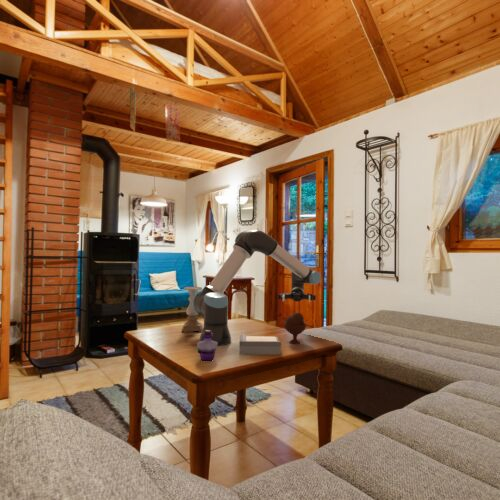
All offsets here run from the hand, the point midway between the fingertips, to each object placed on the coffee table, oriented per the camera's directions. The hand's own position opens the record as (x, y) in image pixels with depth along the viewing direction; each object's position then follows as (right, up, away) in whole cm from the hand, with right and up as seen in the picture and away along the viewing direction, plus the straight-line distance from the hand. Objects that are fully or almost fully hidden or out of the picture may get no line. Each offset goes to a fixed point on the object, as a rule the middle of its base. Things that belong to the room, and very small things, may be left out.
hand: (296, 299), depth 180 cm
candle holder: (-56, -20, +15) cm, 62 cm away
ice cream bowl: (-2, -20, -10) cm, 23 cm away
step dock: (-20, -20, -21) cm, 35 cm away
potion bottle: (-42, -20, -39) cm, 60 cm away
